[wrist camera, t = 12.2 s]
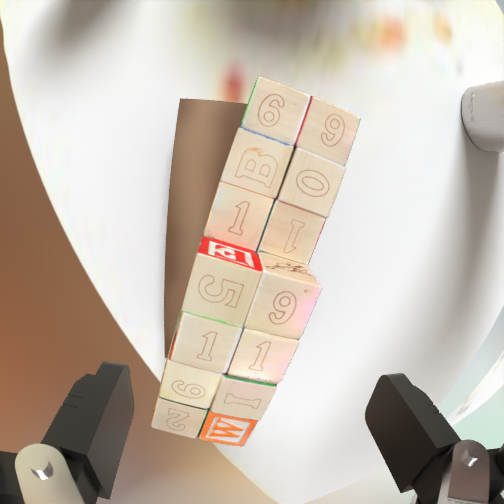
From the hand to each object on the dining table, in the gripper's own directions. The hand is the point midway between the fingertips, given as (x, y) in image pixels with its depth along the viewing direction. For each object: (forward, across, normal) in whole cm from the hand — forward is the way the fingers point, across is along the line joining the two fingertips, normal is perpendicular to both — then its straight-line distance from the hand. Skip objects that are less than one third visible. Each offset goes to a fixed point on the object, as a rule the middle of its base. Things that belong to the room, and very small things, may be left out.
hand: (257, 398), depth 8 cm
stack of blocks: (+18, 0, -1) cm, 18 cm away
